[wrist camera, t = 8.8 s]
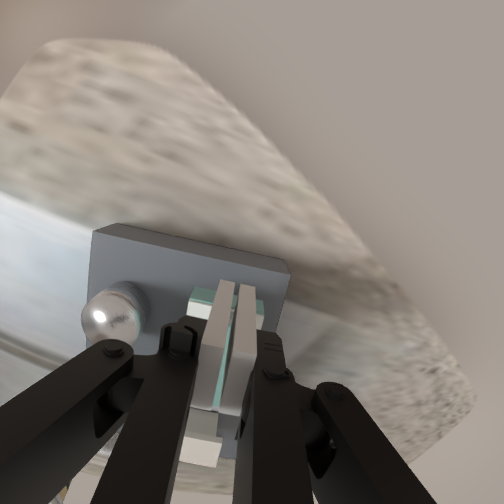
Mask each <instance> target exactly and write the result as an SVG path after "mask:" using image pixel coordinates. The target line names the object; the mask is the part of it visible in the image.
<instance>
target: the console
mask: <svg viewBox="0 0 504 504" xmlns="http://www.w3.org/2000/svg"><path fill="white" fill-rule="evenodd" d="M290 277H291V274H290V272H289V270H288V268H287V266H286V264H285V262H284V260H282V259H277V258H272V257H268V256H263V255H259V254H254V253H249V252H245V251H240V250H236V249H231V248H226V247H222V246H217V245H213V244H208V243H203V242H199V241H194V240H190V239H185V238H181V237H176V236H171V235H167V234H162V233H158V232H153V231H148V230H144V229H139V228H135V227H130V226H126V225H121V224H116V223H115V224H112V225H109V226H106V227H103V228H100V229H97V230H95V231H93V234H92V242H91V252H90V263H89V276H88V293H87V303H88V302H89V301H90V300H91V299H92V298H94V297H95V296H96V295H97V294H99V293H100V292H101V291H102V290H104V289H105V288H106V287H107V286H109V285H110V284H112V283H114V282H128V283H131V284H133V285H135V286H136V287H138V288H139V289H140V290H141V291H142V292H143V293H144V295H145V296H146V298H147V300H148V302H149V306H150V317H149V320H148V322H147V324H146V325H145V327H144V328H143V330H142V331H141V333H140V334H139V336H138V337H137V339H136V340H135V342H134V344H133V345H132V346H131V347H132V348H133V350H134V354H135V355H154V354H157V352H158V350H159V341H160V332H161V327H162V326H163V325H165V324H168V323H177V322H178V320H179V319H180V318H182V317H183V316H185V315H186V314H187V308H188V302H189V299H190V296H191V294H192V292H193V290H194V287H195V286H196V287H200V288H205V289H209V290H214V291H217V289H218V285H219V282H220V279H221V280H226V281H230V282H235V287H234V293H233V295H237V296H238V293H239V288H240V284H244V285H249V286H254V287H255V293H256V299H257V300H262V301H263V305H264V320H263V324H262V327H261V330H264V331H269V332H274V333H275V331H276V328H277V324H278V321H279V317H280V313H281V310H282V306H283V303H284V299H285V295H286V292H287V288H288V284H289V280H290ZM92 345H94V344H93V343H92V342H91V341H90V340H89V339H88V337H87V336H86V349H88V348H89V347H91V346H92ZM190 408H194V407H190ZM194 409H198V410H203V409H199V408H194ZM203 411H208V410H203ZM208 412H213V413H218V412H219V407H216V406H212V409H211V411H208ZM241 416H242V410H241V413H240V416H234V415H229V414H223V413H219V414H218V423H217V432H216V437H221V438H223V439H222V446H221V450H220V453H219V457H222V458H229V459H235V460H236V452H237V440H234V439H235V436H236V432H237V429H238V426H239V422H240V419H241ZM123 425H124V424H123ZM123 425H122V426H121V427H120V428H119V429H118V430H117V431H116V432H117V433H120V432H121V430H122V427H123Z"/></svg>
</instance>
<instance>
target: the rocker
mask: <svg viewBox="0 0 504 504" xmlns="http://www.w3.org/2000/svg"><path fill="white" fill-rule="evenodd" d="M216 292H217V291H214V290H209V289H205V288H200V287H196V286H195V287H194V290H193V292H192V294H191V296H190V299H189V302H188V308H187V314H186V315H189V316H193V317H197V318H202V319H206V320H208V318H209V315H210V311H211V308H212V305H213V302H214V298H215V295H216ZM237 297H238V296H237V295H233V300H232V306H231V312H230V318H229V325H228V331H227V337H226V344H225V350H224V354H223V359H222V363H221V368H220V372H219V377H218V381H217V386H216V391H215V395H214V400H213V404H212V406H216V407H219V405H220V398H221V390H222V383H223V376H224V369H225V362H226V355H227V348H228V340H229V333H230V328H231V324H232V319H233V315H234V310H235V306H236V301H237ZM263 320H264V305H263V301H262V300H257V299H256V329H259V330H261V327H262V324H263Z"/></svg>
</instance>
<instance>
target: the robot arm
mask: <svg viewBox="0 0 504 504" xmlns="http://www.w3.org/2000/svg"><path fill="white" fill-rule="evenodd" d="M234 287H235V282H230V281H226V280H221V279H220V282H219V285H218V289H217V292H216V295H215V298H214V302H213V305H212V308H211V311H210V315H209V318H208V320H206V319H202V318H197V317H193V316H189V315H185V316H183V317H182V318H180V319H179V320H178V322H177V323H168V324H165V325H163V326H162V327H161V332H160V341H159V350H158V352H157V354H154V355H135V354H134V350H133V348H132V347H131V345H129V344H128V343H126V342H124V341H121V340H118V339H104V340H101V341H99V342H97V343H95V344H94V345H92V346H91V347H89V348H88V349H86V350H85V351H83V352H82V353H80V354H79V355H77V356H76V357H74V358H72V359H71V360H69V361H68V362H66V363H65V364H63V365H62V366H60V367H59V368H57V369H56V370H54V371H53V372H51V373H50V374H48V375H47V376H45V377H44V378H42V379H41V380H39V381H38V382H36V383H35V384H33V385H32V386H30V387H29V388H27V389H26V390H24V391H23V392H22V393H20V394H19V395H17V396H16V397H14V398H13V399H11V400H10V401H8V402H7V403H5V404H4V405H2V406H1V407H0V504H49V503H50V502H51V501H52V500H53V499H54V498H55V497H56V496H57V495H58V493H59V492H60V491H61V490H62V489H63V488H64V487H65V486H66V485H67V484H68V483H69V482H70V481H71V480H72V479H73V478H74V477H75V476H76V474H77V473H78V472H79V471H80V470H81V469H82V468H83V467H84V466H85V465H86V464H87V463H88V462H89V461H90V460H91V458H92V457H93V456H94V455H95V454H96V453H97V452H98V451H99V450H100V449H101V448H102V447H103V446H104V444H105V443H106V442H107V441H108V440H109V439H110V438H111V437H112V436H113V435H114V434H115V433H116V431H117V430H118V429H119V428H120V427H121V426H122V425H123V424H124V425H123V427H122V430H121V432H120V434H119V436H118V439H117V441H116V443H115V446H114V448H113V450H112V453H111V455H110V457H109V459H108V462H107V464H106V467H105V469H104V471H103V474H102V476H101V478H100V481H99V483H98V486H97V488H96V490H95V493H94V496H93V498H92V500H91V503H90V504H170V501H171V496H172V491H173V486H174V481H175V477H176V472H177V467H178V462H179V458H180V453H181V448H182V444H183V439H184V434H185V430H186V425H187V421H188V416H189V410H190V407H194V408H199V409H203V410H208V411H211V409H212V404H213V400H214V395H215V391H216V386H217V381H218V377H219V372H220V368H221V363H222V359H223V354H224V350H225V344H226V337H227V331H228V325H229V318H230V312H231V306H232V300H233V293H234ZM241 410H242V416H241V419H240V422H239V426H238V429H237V432H236V436H235V439H234V440H237V452H236V464H235V477H234V489H233V502H232V504H314V501H313V493H314V495H315V497H316V499H317V501H318V503H319V504H437V503H436V502H435V501H434V499H433V498H432V497H431V495H430V494H429V493H428V491H427V490H426V489H425V488H424V486H423V485H422V484H421V482H420V481H419V480H418V478H417V477H416V476H415V474H414V473H413V472H412V471H411V469H410V468H409V467H408V465H407V464H406V463H405V461H404V460H403V459H402V457H401V456H400V455H399V454H398V452H397V451H396V450H395V448H394V447H393V446H392V444H391V443H390V442H389V440H388V439H387V438H386V436H385V435H384V434H383V432H382V431H381V430H380V429H379V427H378V426H377V425H376V423H375V422H374V421H373V419H372V418H371V417H370V415H369V414H368V413H367V411H366V410H365V409H364V407H363V406H362V405H361V403H360V402H359V401H358V400H357V398H356V397H355V396H354V394H353V393H352V392H351V391H350V390H349V389H348V388H347V387H345V386H343V385H341V384H339V383H335V382H323V383H320V384H319V385H317V388H316V390H313V389H310V388H307V387H304V386H302V385H299V384H298V383H296V382H295V379H294V376H293V374H292V372H291V371H290V370H289V369H288V368H286V364H285V358H284V353H283V347H282V341H281V338H280V337H279V336H278V335H277V334H276V333H274V332H269V331H264V330H259V329H256V293H255V287H254V286H249V285H244V284H240V288H239V293H238V297H237V301H236V306H235V310H234V315H233V319H232V324H231V328H230V333H229V340H228V348H227V355H226V362H225V369H224V376H223V383H222V390H221V398H220V405H219V412H218V413H223V414H229V415H234V416H240V413H241ZM312 491H313V493H312Z"/></svg>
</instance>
